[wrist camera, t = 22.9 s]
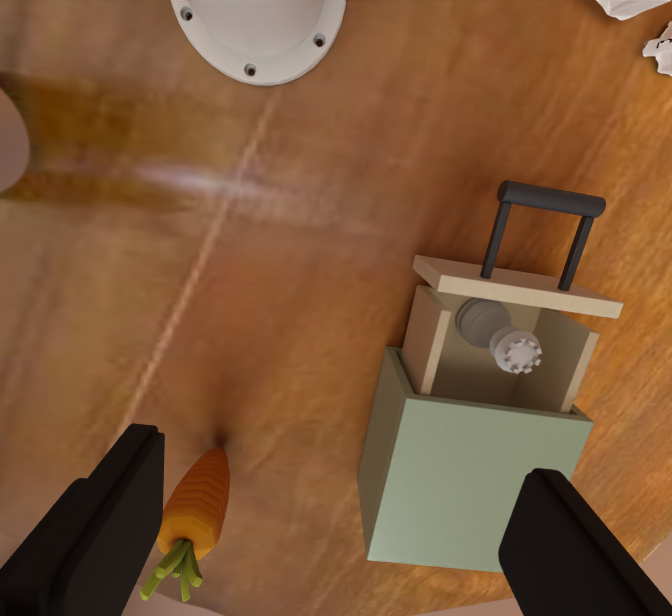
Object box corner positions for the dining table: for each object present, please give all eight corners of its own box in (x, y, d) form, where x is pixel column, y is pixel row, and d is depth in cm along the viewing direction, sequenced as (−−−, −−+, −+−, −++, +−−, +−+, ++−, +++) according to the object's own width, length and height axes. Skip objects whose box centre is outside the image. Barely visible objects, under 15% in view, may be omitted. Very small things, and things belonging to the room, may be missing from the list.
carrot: (250, 435, 40) (210, 577, 25) (236, 473, 41) (191, 628, 27) (202, 422, 39) (133, 559, 25) (190, 461, 40) (118, 612, 26)
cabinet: (385, 345, 37) (406, 398, 28) (529, 365, 38) (594, 422, 29) (356, 478, 42) (366, 560, 33) (486, 492, 43) (530, 575, 34)
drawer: (433, 174, 32) (467, 171, 24) (586, 201, 33) (663, 206, 25) (382, 400, 38) (396, 452, 31) (512, 417, 39) (557, 471, 32)
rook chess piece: (484, 350, 36) (528, 396, 28) (444, 327, 35) (479, 368, 27) (514, 310, 34) (569, 346, 27) (474, 286, 34) (519, 316, 26)
